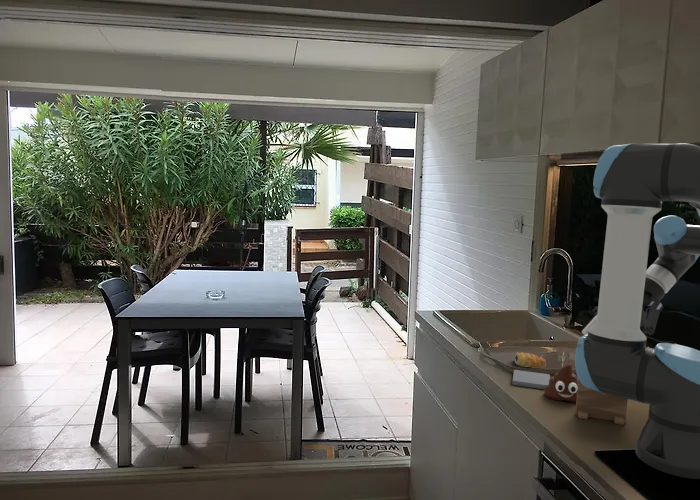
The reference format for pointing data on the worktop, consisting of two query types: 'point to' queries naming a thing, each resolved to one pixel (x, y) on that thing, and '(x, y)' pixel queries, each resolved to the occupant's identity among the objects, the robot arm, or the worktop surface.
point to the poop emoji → (563, 385)
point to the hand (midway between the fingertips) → (602, 342)
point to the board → (530, 379)
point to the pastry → (529, 360)
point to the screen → (600, 405)
